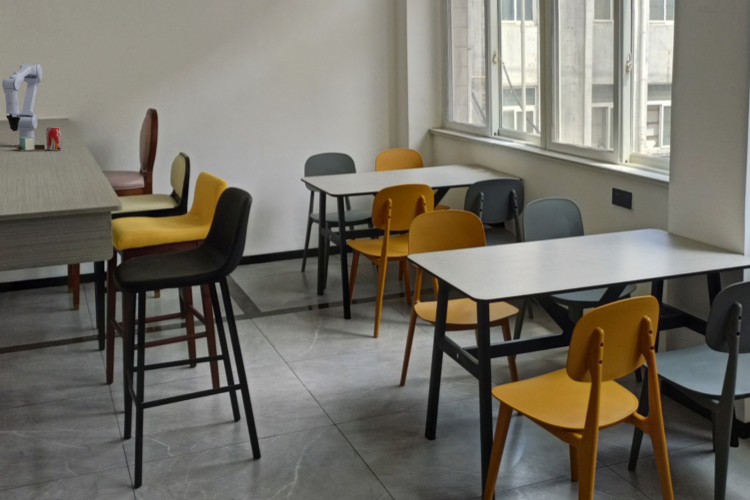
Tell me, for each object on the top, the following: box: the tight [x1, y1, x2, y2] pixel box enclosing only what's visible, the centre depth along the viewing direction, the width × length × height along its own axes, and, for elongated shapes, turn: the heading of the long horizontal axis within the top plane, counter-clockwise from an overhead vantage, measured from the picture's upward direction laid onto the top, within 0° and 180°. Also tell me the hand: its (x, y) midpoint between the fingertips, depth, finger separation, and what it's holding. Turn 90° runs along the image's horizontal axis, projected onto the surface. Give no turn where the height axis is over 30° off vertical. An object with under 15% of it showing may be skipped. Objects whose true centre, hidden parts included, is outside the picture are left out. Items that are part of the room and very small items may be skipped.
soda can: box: [45, 125, 63, 152], centre depth 392 cm, size 7×7×12 cm
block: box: [18, 137, 35, 150], centre depth 387 cm, size 5×5×6 cm
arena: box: [15, 144, 46, 152], centre depth 389 cm, size 8×13×2 cm, turn 113°
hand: (13, 130), depth 386 cm, fingers open, 7 cm apart
